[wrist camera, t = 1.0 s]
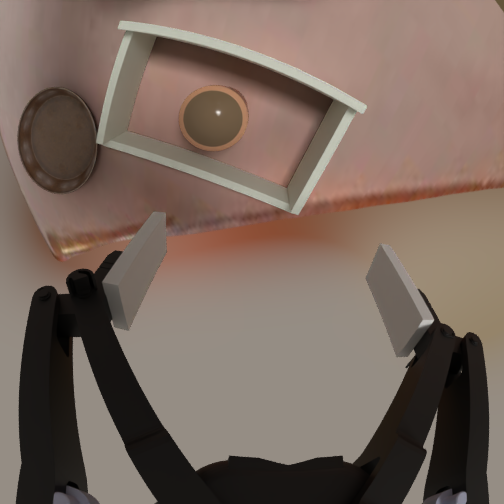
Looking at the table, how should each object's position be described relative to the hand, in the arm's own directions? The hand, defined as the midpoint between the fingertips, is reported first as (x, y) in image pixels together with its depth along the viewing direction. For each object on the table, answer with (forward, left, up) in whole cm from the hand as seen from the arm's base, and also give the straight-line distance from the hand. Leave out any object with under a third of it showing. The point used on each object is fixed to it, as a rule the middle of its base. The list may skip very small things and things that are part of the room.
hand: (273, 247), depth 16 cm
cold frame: (-2, -7, -23) cm, 24 cm away
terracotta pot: (-2, -7, -23) cm, 24 cm away
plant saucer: (+9, -31, -23) cm, 40 cm away
